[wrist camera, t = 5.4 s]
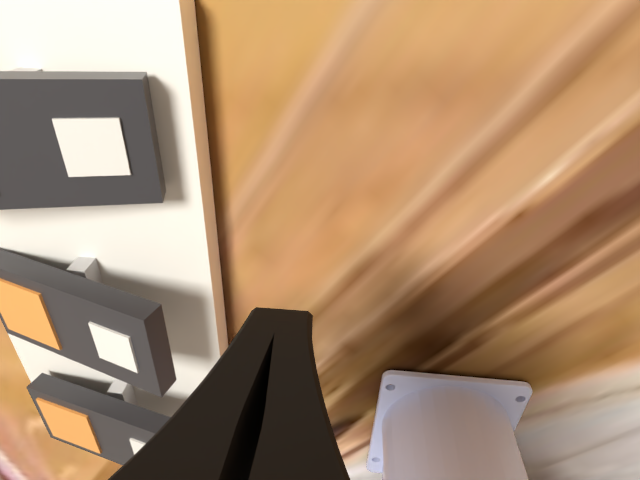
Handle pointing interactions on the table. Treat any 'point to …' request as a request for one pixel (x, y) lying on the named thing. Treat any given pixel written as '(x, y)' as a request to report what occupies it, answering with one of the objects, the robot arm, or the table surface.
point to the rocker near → (77, 140)
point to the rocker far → (93, 419)
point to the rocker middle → (86, 322)
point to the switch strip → (132, 219)
